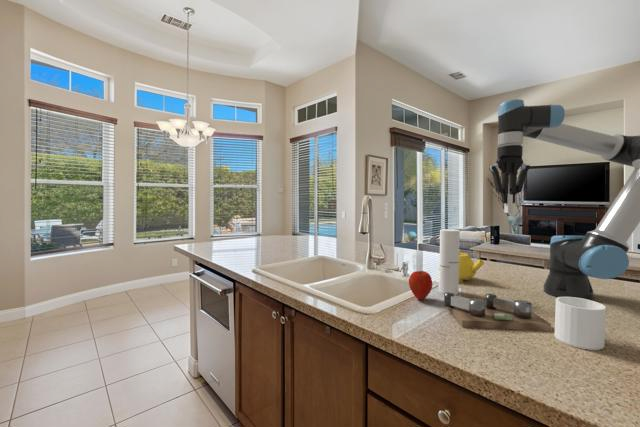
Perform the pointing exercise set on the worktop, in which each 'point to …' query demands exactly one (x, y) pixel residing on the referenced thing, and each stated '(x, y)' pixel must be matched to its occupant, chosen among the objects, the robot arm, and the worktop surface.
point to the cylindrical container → (449, 261)
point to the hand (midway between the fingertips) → (508, 212)
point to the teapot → (467, 267)
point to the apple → (420, 284)
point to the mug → (580, 322)
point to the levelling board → (499, 320)
